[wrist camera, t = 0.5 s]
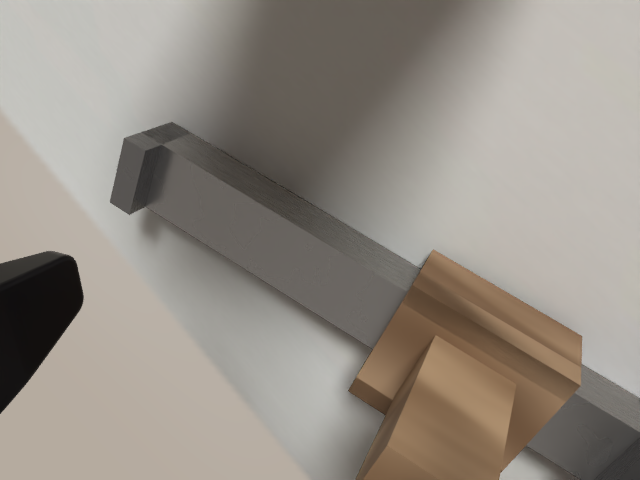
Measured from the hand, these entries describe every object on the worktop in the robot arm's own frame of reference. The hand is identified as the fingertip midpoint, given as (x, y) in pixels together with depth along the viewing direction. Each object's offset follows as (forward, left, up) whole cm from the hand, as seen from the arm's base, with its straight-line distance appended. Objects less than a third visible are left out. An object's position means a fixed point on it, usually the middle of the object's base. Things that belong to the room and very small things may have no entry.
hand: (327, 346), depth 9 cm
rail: (-7, 0, -13) cm, 15 cm away
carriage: (-7, -4, -13) cm, 16 cm away
